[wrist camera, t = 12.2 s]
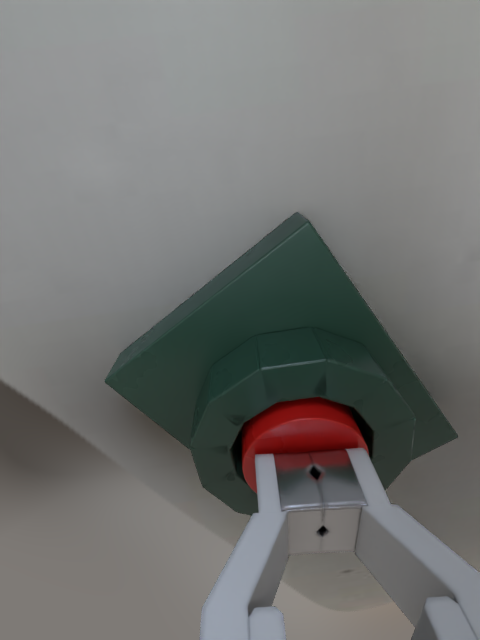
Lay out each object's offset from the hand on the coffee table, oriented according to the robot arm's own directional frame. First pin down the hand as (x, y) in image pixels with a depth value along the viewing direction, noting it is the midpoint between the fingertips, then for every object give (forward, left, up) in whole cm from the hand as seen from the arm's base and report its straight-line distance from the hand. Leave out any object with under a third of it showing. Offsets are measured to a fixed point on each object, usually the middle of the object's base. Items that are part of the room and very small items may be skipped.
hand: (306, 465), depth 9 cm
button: (0, 0, -2) cm, 2 cm away
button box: (0, 0, -4) cm, 4 cm away
